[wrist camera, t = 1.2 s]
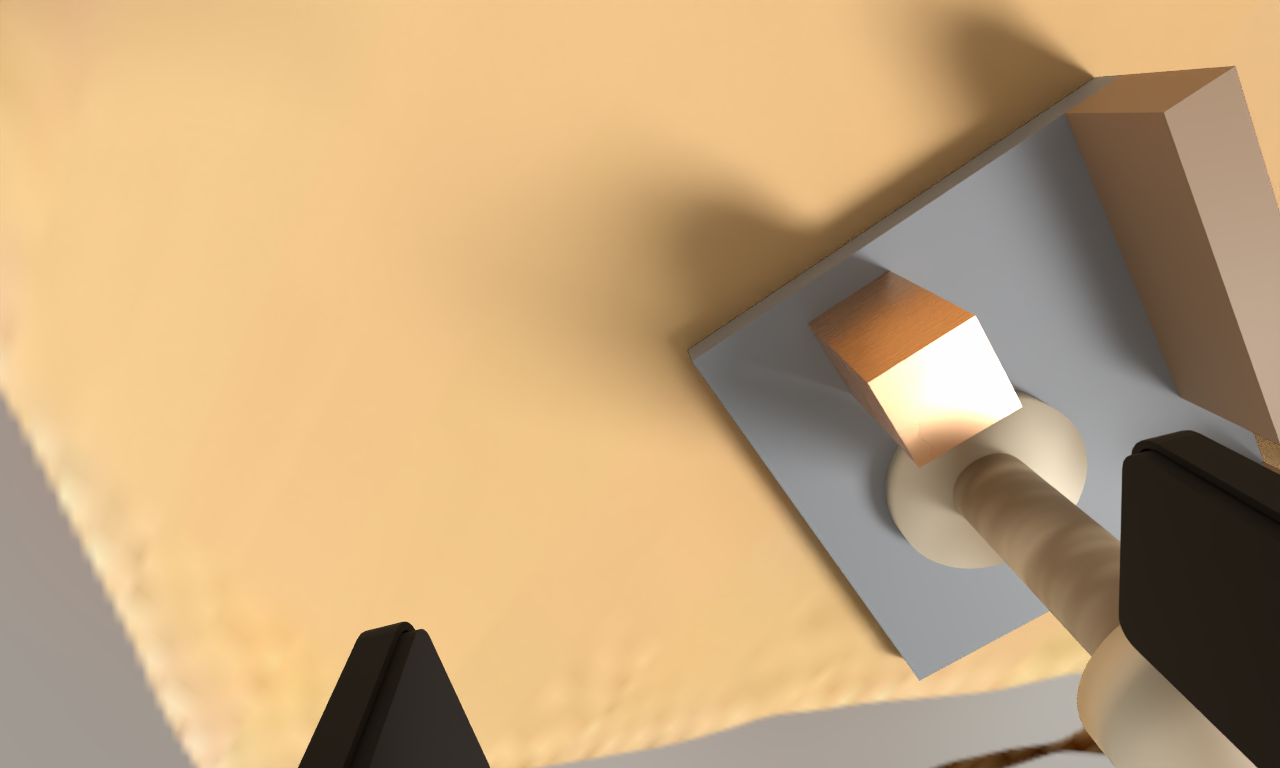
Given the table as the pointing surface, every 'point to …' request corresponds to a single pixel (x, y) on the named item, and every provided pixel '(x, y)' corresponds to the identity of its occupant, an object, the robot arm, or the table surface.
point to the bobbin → (1053, 573)
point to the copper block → (916, 365)
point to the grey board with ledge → (1036, 327)
